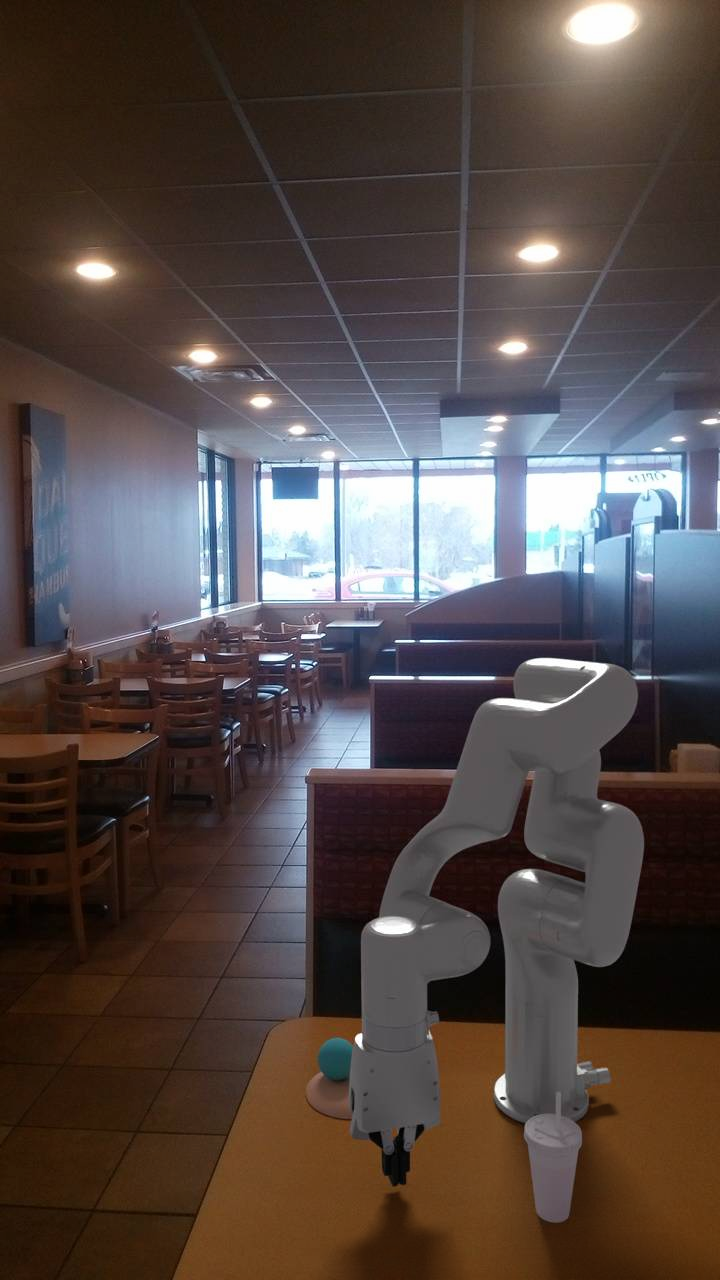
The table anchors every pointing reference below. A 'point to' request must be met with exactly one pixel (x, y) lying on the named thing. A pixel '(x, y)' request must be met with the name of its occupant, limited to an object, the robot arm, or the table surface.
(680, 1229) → the table surface
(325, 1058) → the ball
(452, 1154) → the table surface
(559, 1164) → the smoothie
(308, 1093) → the pink flattened dome
